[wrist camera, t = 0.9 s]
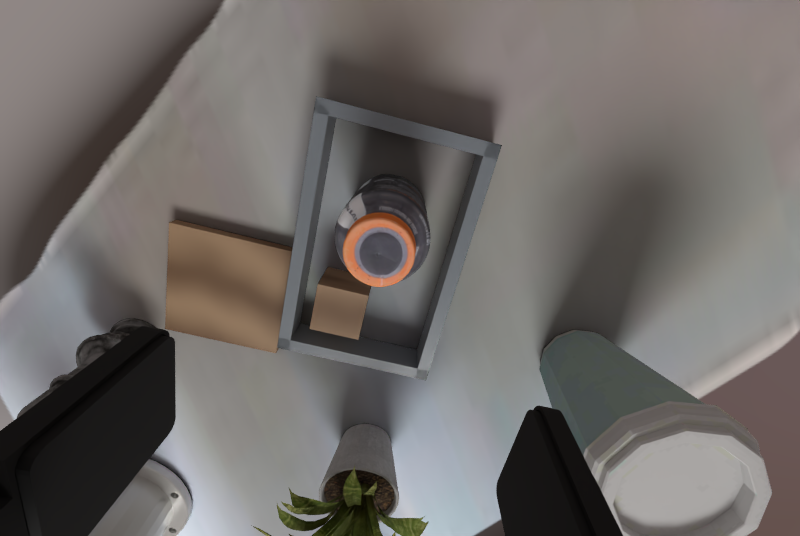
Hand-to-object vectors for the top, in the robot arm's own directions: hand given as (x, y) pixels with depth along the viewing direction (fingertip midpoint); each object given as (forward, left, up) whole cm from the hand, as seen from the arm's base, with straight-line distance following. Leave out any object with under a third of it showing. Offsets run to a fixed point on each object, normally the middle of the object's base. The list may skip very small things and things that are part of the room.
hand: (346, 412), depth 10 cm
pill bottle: (+1, 0, -23) cm, 23 cm away
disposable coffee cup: (-8, -20, -23) cm, 31 cm away
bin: (-2, 0, -23) cm, 23 cm away
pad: (-9, +12, -23) cm, 27 cm away
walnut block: (-7, +2, -23) cm, 24 cm away
